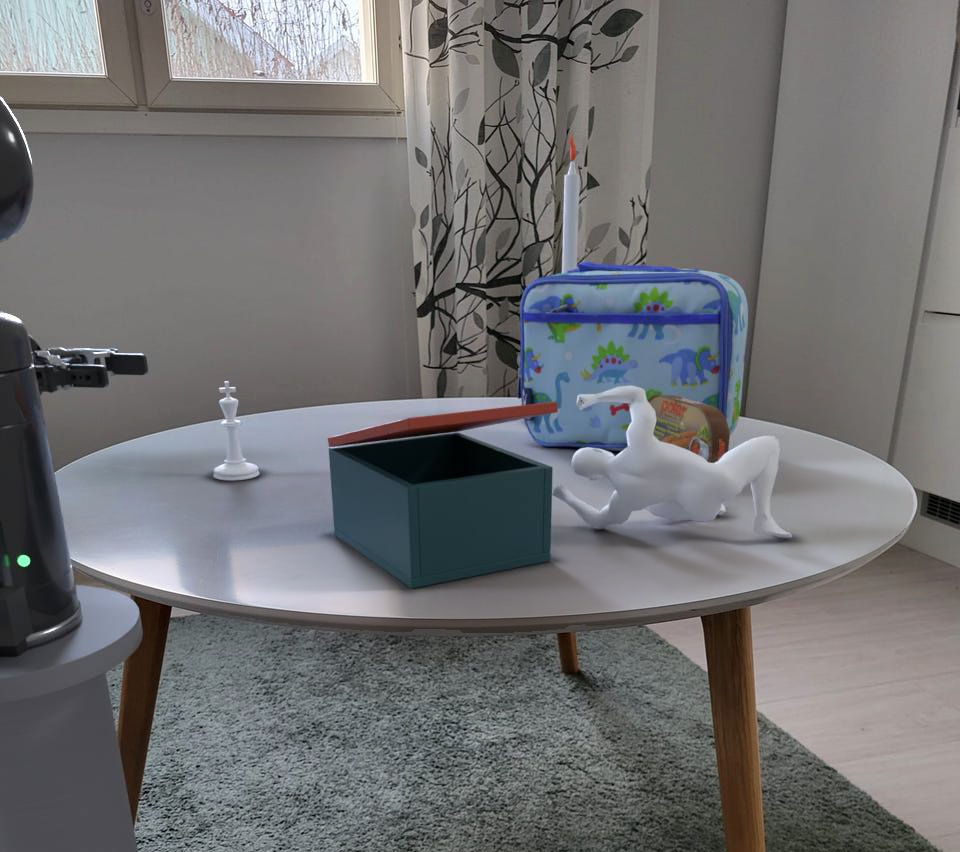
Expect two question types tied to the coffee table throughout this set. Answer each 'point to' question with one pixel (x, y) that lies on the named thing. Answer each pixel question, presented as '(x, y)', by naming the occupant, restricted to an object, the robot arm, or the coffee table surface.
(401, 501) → the teal box
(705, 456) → the tin
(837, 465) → the coffee table surface
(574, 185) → the candlestick
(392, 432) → the red box lid
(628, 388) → the person figurine
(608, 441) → the lunch box
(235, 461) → the chess piece
